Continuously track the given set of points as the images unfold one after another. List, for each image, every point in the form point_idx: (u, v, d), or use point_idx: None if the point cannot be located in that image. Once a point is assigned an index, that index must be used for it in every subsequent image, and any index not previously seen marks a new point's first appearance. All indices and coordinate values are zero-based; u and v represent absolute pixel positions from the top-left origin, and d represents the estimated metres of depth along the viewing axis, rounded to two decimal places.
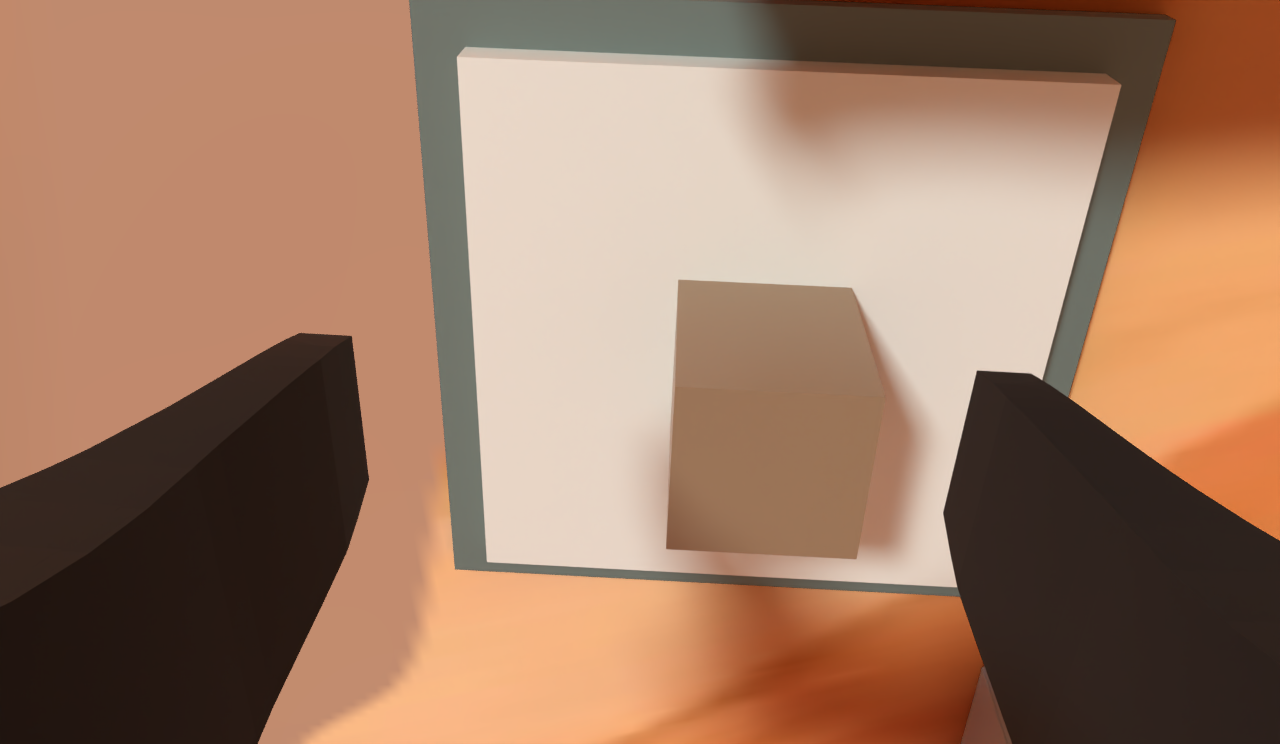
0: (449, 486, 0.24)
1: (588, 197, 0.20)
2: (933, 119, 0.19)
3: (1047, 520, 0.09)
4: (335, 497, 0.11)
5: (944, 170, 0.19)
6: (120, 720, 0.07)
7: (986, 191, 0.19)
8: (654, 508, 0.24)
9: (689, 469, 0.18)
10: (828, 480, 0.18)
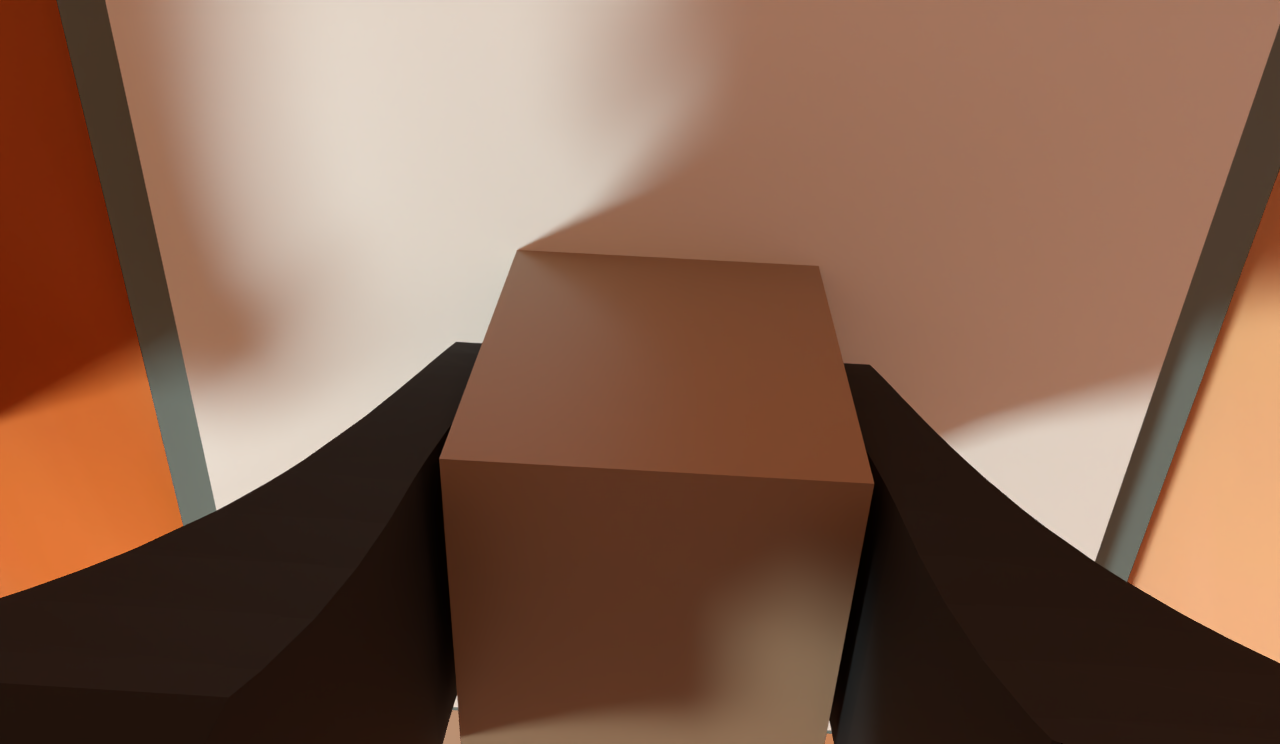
0: None
1: None
2: (204, 148, 0.11)
3: None
4: None
5: (285, 119, 0.11)
6: (368, 736, 0.07)
7: (309, 40, 0.11)
8: None
9: (633, 739, 0.10)
10: (650, 542, 0.09)
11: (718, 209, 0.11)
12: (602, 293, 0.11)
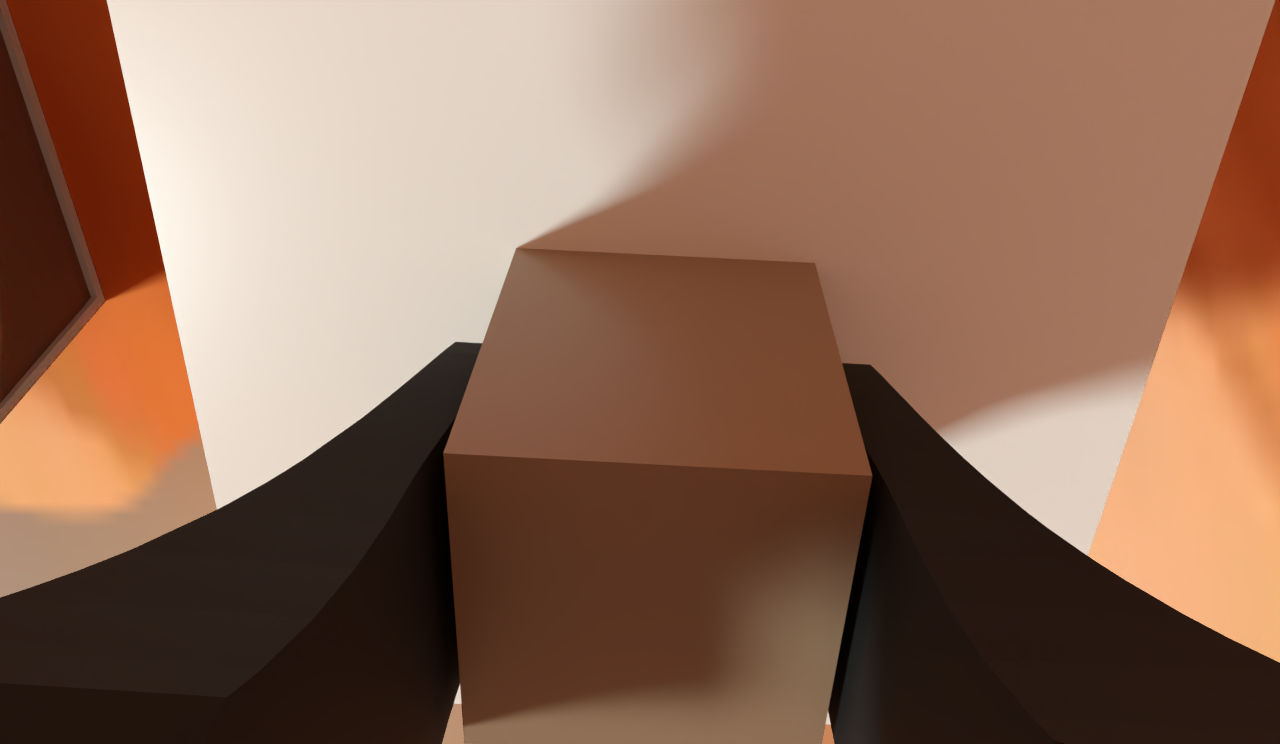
0: None
1: None
2: (206, 148, 0.11)
3: None
4: None
5: (286, 119, 0.11)
6: (367, 735, 0.07)
7: (310, 41, 0.11)
8: None
9: (634, 729, 0.10)
10: (652, 534, 0.09)
11: (716, 207, 0.12)
12: (601, 290, 0.11)
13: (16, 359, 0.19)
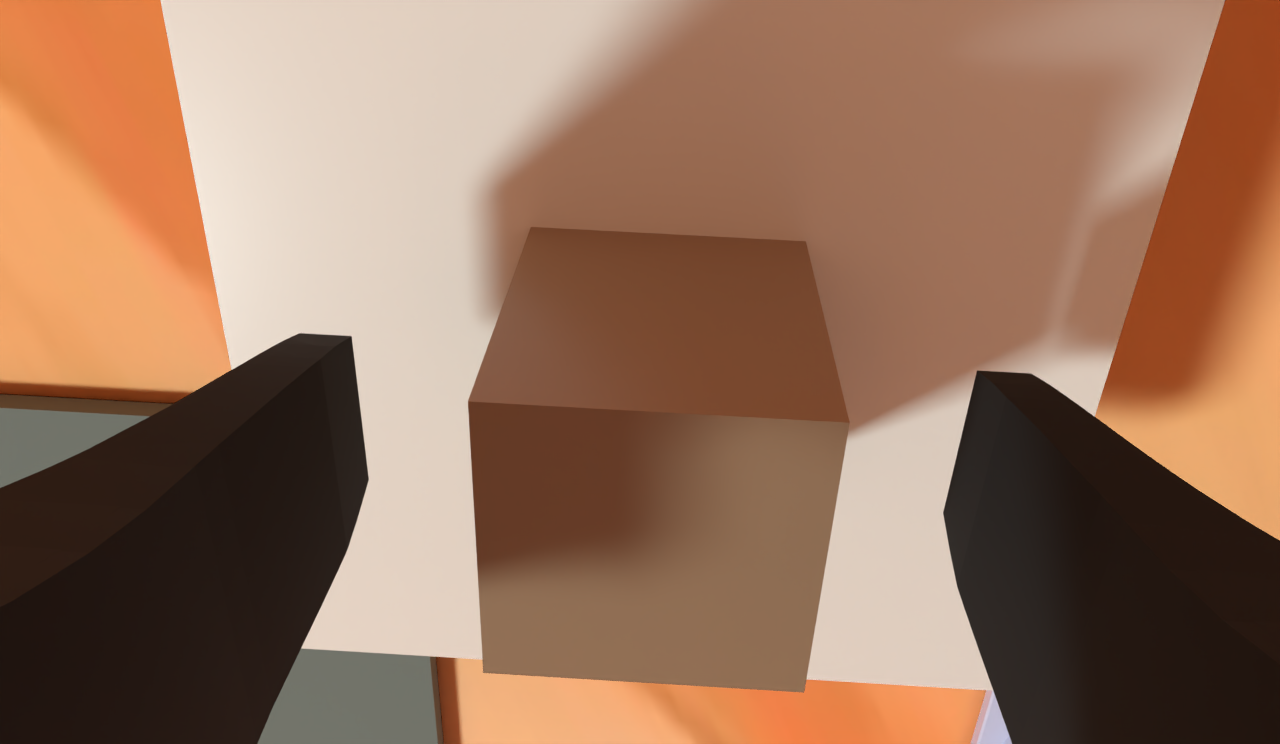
0: None
1: (429, 544, 0.16)
2: (247, 134, 0.13)
3: (1047, 520, 0.09)
4: (335, 497, 0.11)
5: (321, 107, 0.12)
6: (120, 720, 0.07)
7: (345, 36, 0.12)
8: (938, 489, 0.15)
9: (638, 660, 0.11)
10: (653, 477, 0.10)
11: (715, 190, 0.13)
12: (609, 264, 0.12)
13: None
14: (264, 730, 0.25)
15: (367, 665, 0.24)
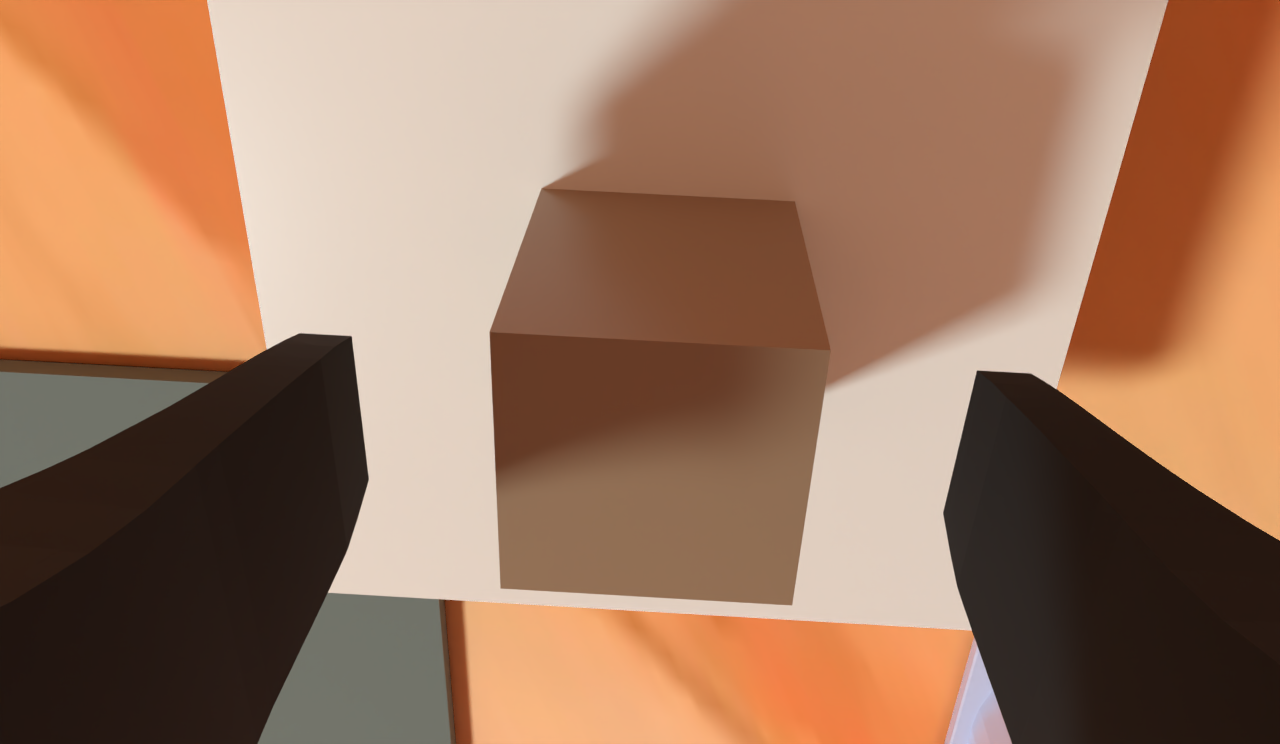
0: None
1: (444, 490, 0.17)
2: (281, 101, 0.14)
3: (1047, 520, 0.09)
4: (335, 497, 0.11)
5: (349, 77, 0.13)
6: (120, 720, 0.07)
7: (372, 10, 0.13)
8: (919, 436, 0.16)
9: (640, 575, 0.12)
10: (656, 402, 0.11)
11: (711, 153, 0.14)
12: (614, 220, 0.13)
13: None
14: None
15: (380, 623, 0.25)
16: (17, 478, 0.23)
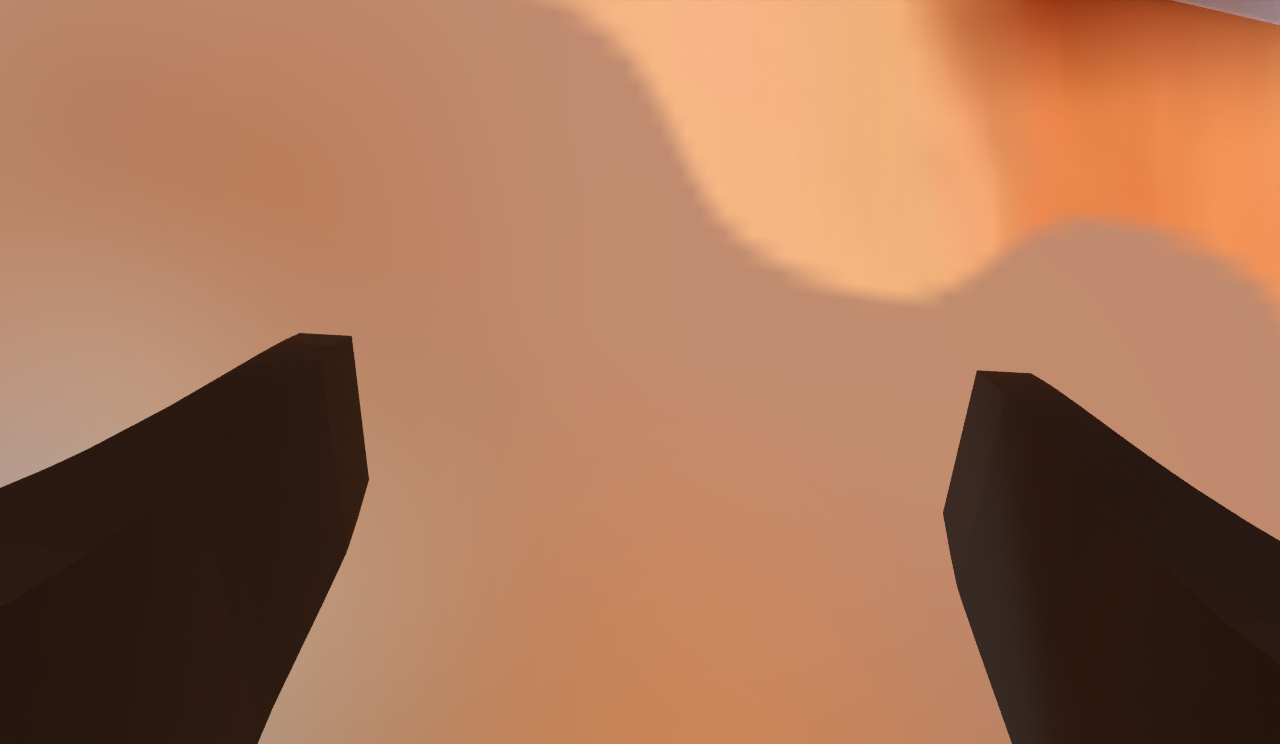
0: None
1: None
2: None
3: (1047, 520, 0.09)
4: (335, 497, 0.11)
5: None
6: (120, 720, 0.07)
7: None
8: None
9: None
10: None
11: None
12: None
13: None
14: None
15: None
16: None
